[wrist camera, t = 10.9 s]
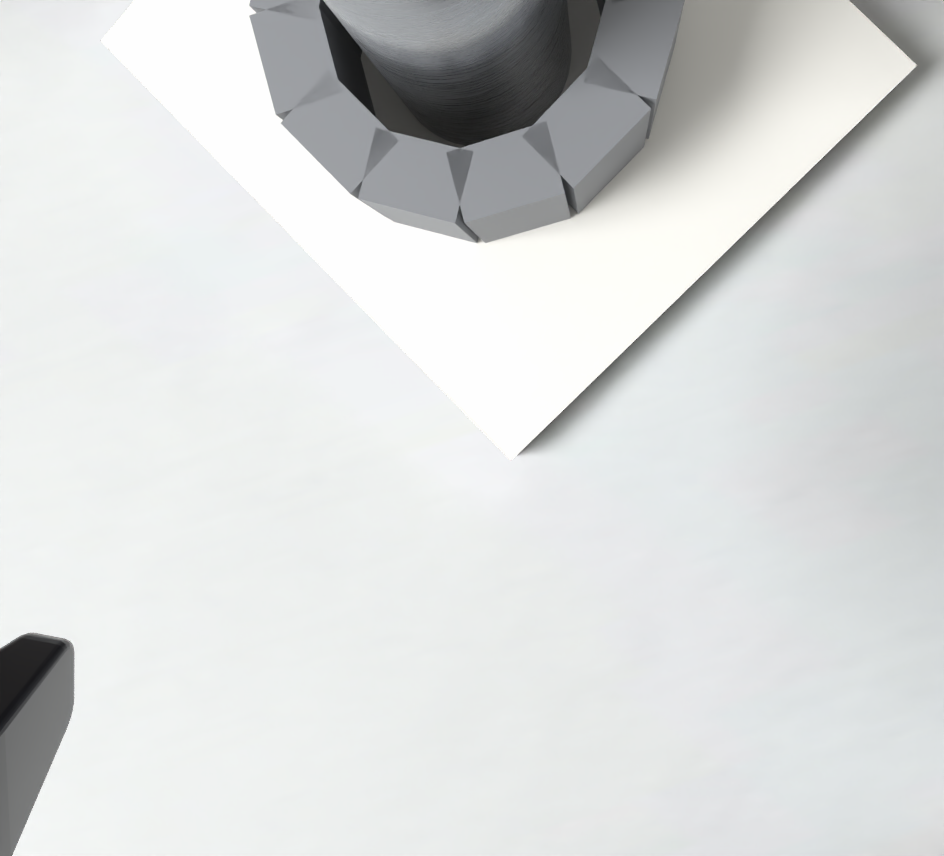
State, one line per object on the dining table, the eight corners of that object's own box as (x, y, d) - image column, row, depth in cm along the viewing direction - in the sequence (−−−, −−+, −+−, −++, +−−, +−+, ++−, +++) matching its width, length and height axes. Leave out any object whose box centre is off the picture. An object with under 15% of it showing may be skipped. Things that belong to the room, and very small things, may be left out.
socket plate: (901, 80, 19) (977, 9, 15) (515, 456, 21) (494, 478, 17) (458, -347, 20) (422, -519, 16) (122, 55, 22) (18, -12, 18)
